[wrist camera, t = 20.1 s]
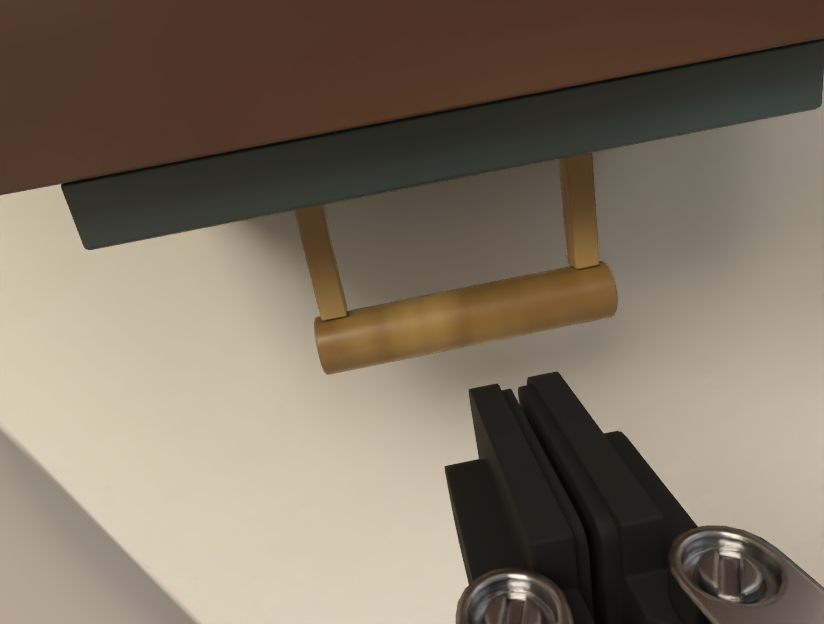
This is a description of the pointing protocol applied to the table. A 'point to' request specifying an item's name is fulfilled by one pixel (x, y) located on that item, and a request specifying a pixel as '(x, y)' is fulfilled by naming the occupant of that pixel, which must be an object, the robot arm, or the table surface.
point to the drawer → (441, 161)
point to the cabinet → (319, 67)
